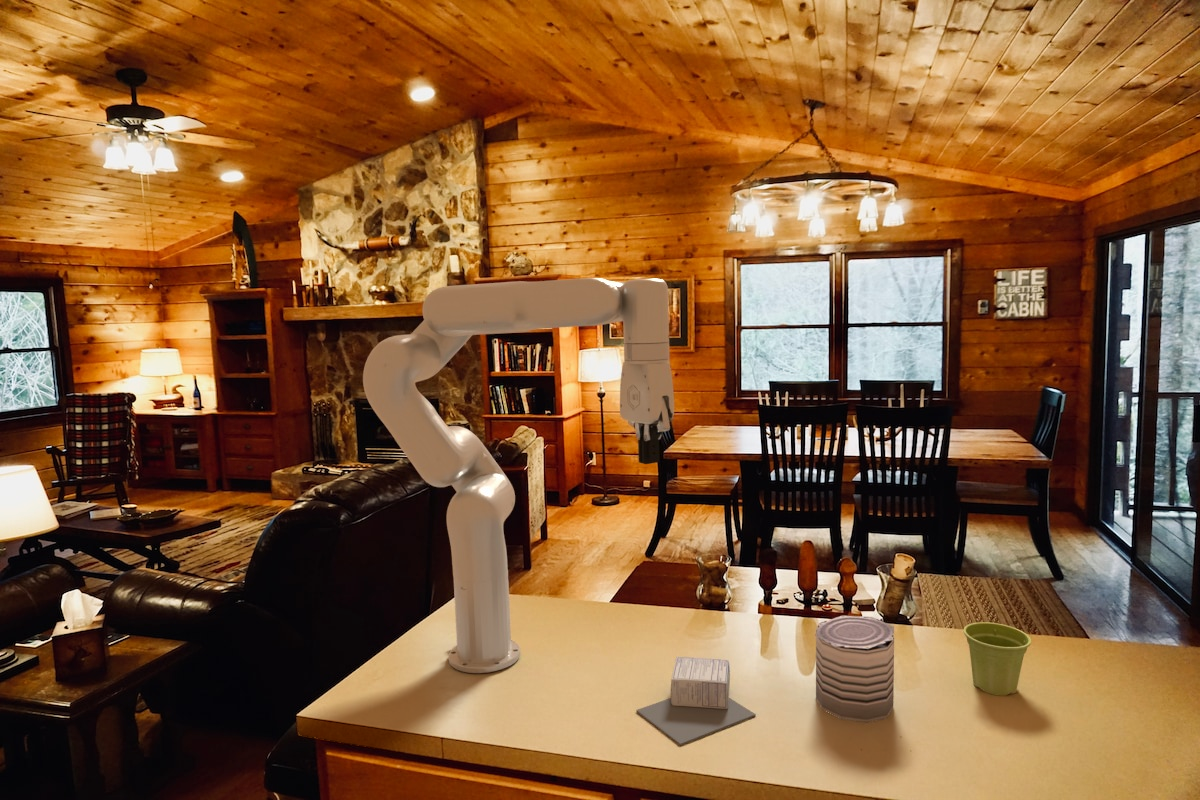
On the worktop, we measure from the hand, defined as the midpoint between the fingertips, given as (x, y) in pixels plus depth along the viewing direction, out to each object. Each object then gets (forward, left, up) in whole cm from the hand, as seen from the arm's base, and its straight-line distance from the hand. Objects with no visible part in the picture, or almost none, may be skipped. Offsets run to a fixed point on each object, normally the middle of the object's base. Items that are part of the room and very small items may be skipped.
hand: (649, 462), depth 128 cm
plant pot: (+38, +39, -35) cm, 65 cm away
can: (+29, +17, -35) cm, 49 cm away
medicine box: (+11, -5, -32) cm, 35 cm away
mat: (+18, -5, -35) cm, 40 cm away
